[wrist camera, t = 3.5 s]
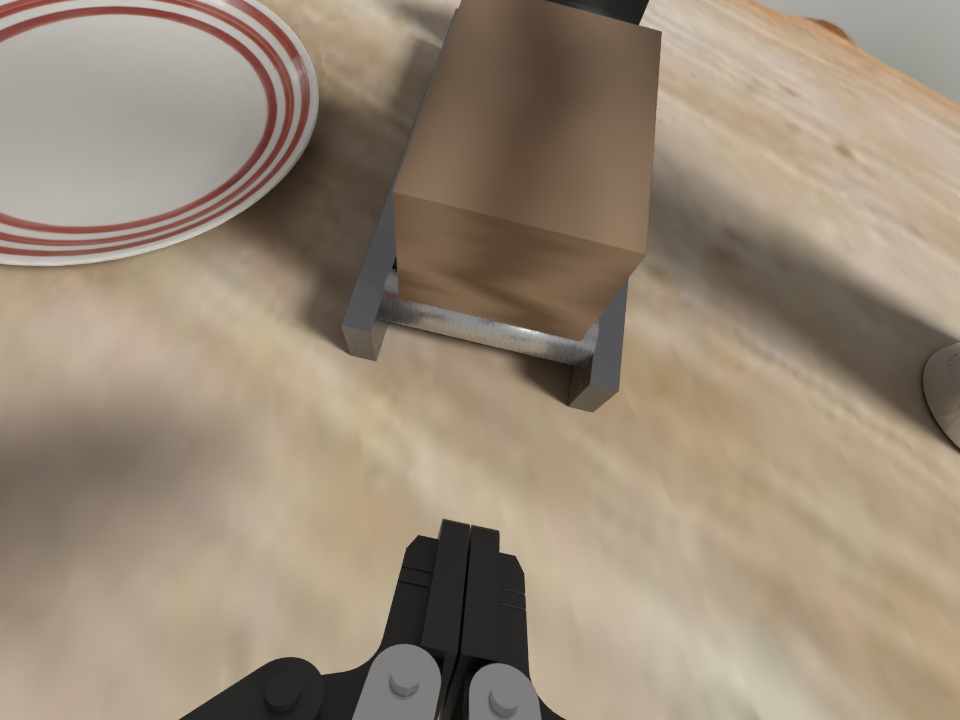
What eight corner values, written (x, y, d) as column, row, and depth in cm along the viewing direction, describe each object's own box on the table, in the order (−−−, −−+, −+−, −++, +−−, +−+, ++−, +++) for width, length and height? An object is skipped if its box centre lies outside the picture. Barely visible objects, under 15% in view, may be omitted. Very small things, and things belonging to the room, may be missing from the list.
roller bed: (628, 87, 41) (681, -30, 33) (593, 412, 29) (663, 354, 21) (457, 43, 41) (468, -88, 33) (350, 355, 29) (324, 272, 21)
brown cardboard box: (604, 154, 31) (661, 31, 24) (580, 341, 26) (646, 254, 18) (456, 117, 31) (468, -20, 24) (398, 298, 25) (392, 191, 18)
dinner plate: (167, -43, 41) (148, -91, 38) (401, 136, 36) (400, 97, 33) (-211, 110, 31) (-280, 61, 28) (51, 385, 26) (3, 362, 23)
